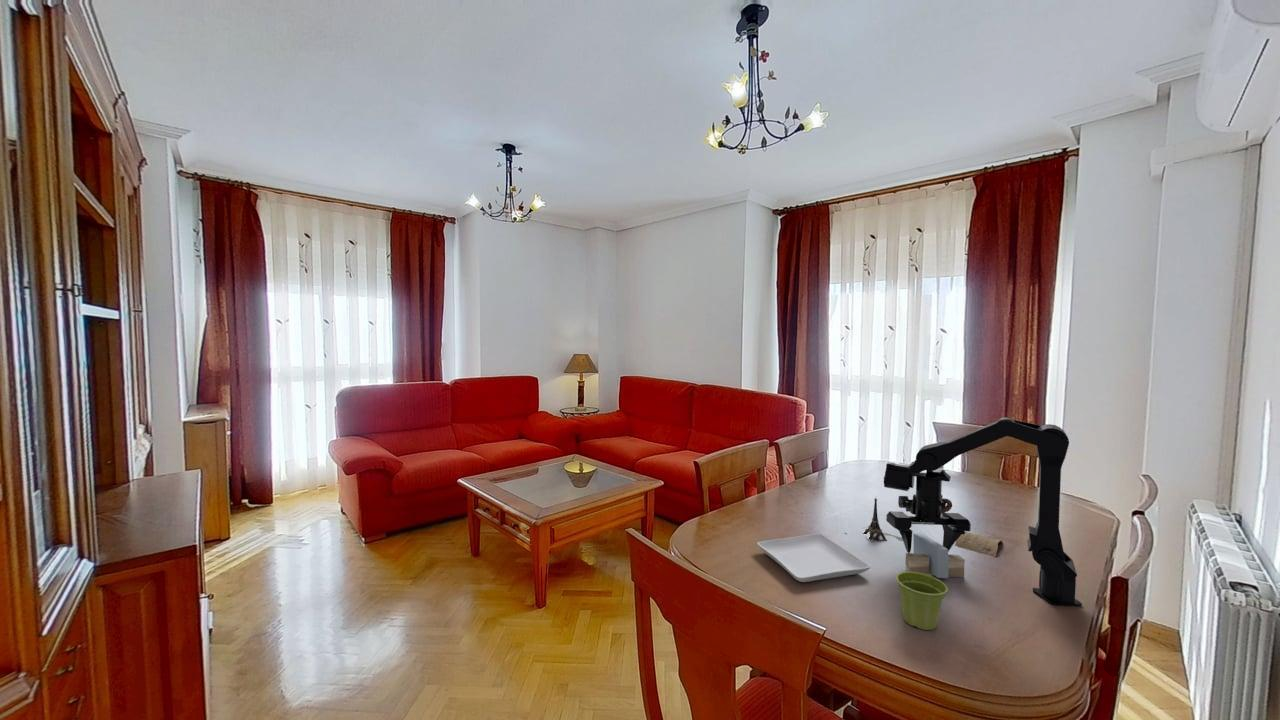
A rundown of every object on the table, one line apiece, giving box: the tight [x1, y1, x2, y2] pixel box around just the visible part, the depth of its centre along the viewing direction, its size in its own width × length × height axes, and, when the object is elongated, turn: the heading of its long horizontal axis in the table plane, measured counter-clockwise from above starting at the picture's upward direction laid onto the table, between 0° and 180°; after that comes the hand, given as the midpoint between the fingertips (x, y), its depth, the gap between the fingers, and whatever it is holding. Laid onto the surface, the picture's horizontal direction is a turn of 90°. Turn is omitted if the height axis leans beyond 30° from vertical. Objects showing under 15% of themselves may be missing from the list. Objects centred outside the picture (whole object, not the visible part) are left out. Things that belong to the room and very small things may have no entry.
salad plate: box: [756, 533, 871, 583], centre depth 129 cm, size 21×21×3 cm
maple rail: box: [904, 552, 966, 578], centre depth 124 cm, size 3×13×4 cm, turn 86°
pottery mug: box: [941, 493, 953, 515], centre depth 166 cm, size 12×10×8 cm
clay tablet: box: [954, 531, 1003, 558], centre depth 141 cm, size 14×10×3 cm
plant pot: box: [895, 571, 949, 631], centre depth 103 cm, size 9×9×9 cm
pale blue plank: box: [912, 532, 949, 579], centre depth 126 cm, size 12×3×7 cm, turn 176°
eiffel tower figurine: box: [862, 497, 903, 542], centre depth 146 cm, size 15×10×13 cm
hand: (926, 552), depth 128 cm, fingers open, 9 cm apart
